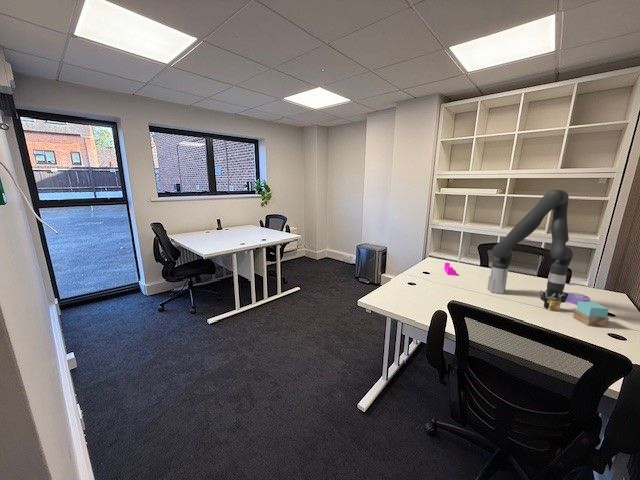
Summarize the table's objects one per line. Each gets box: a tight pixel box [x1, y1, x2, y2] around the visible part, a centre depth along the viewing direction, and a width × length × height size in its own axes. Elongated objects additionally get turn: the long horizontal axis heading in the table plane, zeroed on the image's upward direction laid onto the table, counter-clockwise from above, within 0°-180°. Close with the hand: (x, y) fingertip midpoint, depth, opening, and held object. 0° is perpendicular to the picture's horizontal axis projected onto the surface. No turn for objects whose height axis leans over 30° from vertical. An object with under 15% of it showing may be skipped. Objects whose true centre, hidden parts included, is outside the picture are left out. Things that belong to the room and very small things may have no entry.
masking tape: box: [565, 291, 591, 305], centre depth 165 cm, size 12×12×4 cm
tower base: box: [572, 309, 610, 328], centre depth 139 cm, size 9×9×5 cm
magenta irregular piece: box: [443, 262, 457, 277], centre depth 217 cm, size 15×6×8 cm, turn 165°
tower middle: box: [575, 301, 609, 318], centre depth 139 cm, size 8×8×5 cm
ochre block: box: [543, 298, 562, 312], centre depth 154 cm, size 5×5×6 cm
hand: (551, 308), depth 155 cm, fingers closed on ochre block, 5 cm apart
